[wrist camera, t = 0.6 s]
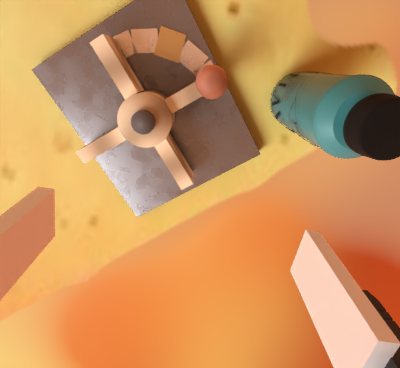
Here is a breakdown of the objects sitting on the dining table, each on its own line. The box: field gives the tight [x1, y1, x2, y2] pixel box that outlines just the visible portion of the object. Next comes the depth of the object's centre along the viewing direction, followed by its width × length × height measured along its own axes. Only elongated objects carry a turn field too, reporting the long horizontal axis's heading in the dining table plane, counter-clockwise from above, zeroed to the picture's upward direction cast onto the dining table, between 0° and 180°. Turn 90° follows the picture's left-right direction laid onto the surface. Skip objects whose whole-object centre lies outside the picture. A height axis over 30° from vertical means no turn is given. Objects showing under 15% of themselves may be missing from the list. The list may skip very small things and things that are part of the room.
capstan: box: [75, 34, 228, 190], centre depth 31 cm, size 18×19×7 cm
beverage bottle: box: [270, 71, 400, 160], centre depth 26 cm, size 6×7×20 cm
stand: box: [32, 0, 260, 217], centre depth 35 cm, size 22×19×2 cm
